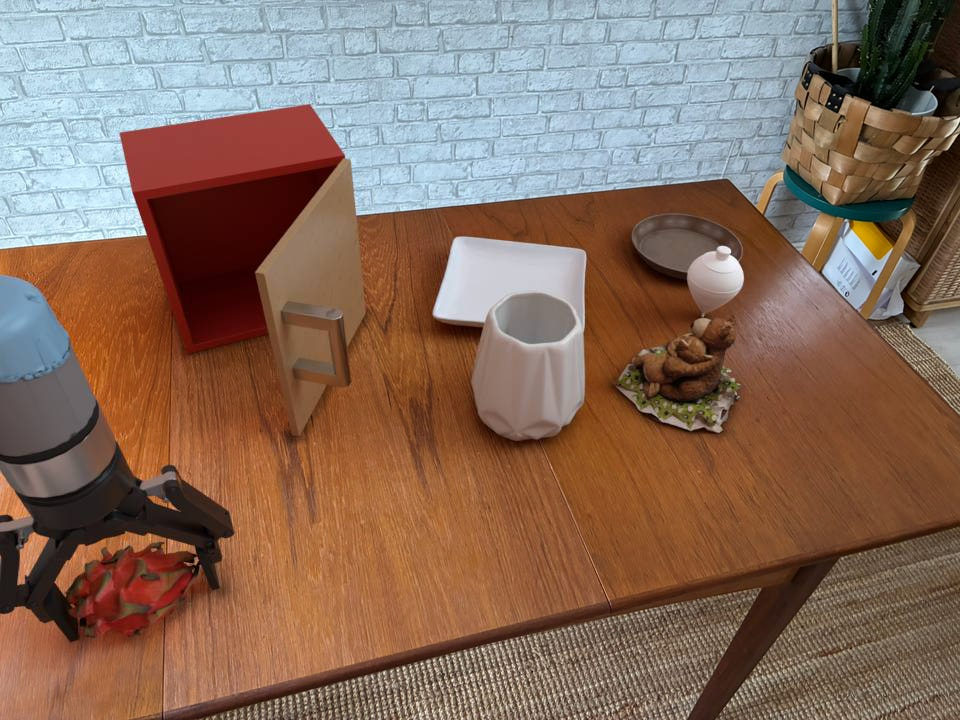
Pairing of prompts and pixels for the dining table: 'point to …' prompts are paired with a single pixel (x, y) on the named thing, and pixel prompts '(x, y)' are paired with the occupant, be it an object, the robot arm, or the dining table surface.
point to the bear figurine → (685, 377)
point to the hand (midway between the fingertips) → (146, 602)
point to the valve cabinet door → (314, 296)
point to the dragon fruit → (130, 589)
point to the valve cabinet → (224, 209)
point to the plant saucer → (680, 242)
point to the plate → (506, 277)
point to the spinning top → (714, 279)
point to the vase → (529, 366)
